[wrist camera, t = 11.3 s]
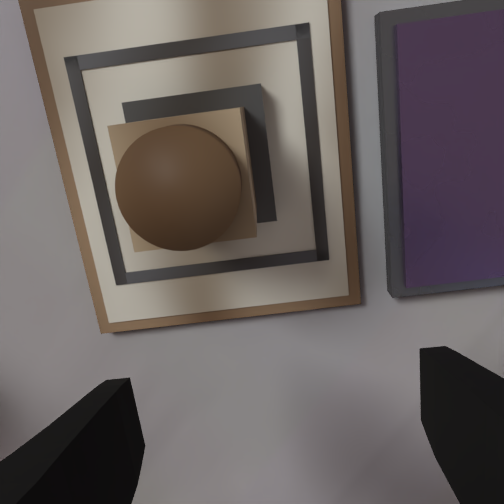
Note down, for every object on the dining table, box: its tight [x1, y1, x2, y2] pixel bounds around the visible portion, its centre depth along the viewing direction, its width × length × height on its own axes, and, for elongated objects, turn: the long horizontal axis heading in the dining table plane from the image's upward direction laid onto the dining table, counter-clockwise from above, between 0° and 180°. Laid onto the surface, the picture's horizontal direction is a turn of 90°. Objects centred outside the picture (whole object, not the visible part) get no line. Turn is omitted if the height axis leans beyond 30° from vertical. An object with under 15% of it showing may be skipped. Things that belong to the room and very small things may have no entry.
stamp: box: [107, 83, 277, 252], centre depth 15 cm, size 5×5×7 cm
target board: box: [18, 0, 361, 334], centre depth 19 cm, size 11×13×1 cm
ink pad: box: [374, 0, 504, 298], centre depth 18 cm, size 9×11×1 cm
